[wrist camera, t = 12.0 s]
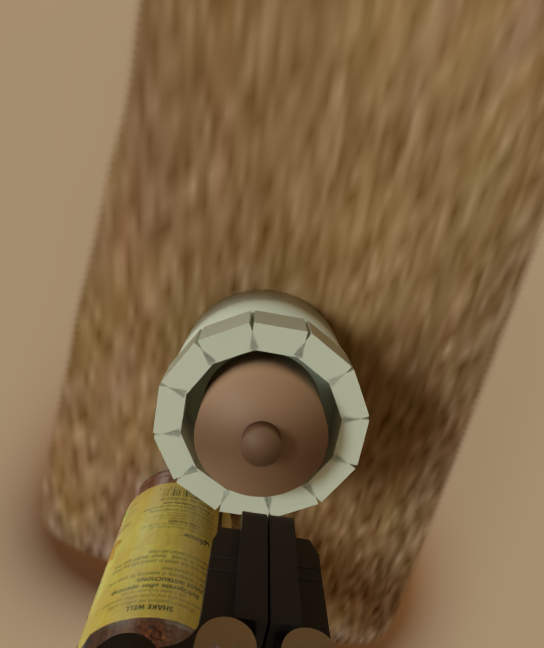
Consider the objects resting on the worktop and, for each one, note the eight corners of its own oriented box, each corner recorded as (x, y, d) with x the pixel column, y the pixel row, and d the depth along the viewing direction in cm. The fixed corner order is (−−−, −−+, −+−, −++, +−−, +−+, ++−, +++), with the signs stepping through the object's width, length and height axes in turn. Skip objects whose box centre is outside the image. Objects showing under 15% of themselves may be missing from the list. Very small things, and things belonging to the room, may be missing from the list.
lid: (212, 340, 22) (202, 372, 18) (332, 362, 22) (345, 397, 18) (194, 448, 23) (181, 497, 20) (306, 467, 24) (314, 518, 20)
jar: (194, 276, 26) (169, 307, 19) (357, 305, 27) (389, 346, 20) (172, 425, 28) (144, 500, 22) (322, 449, 29) (340, 529, 22)
